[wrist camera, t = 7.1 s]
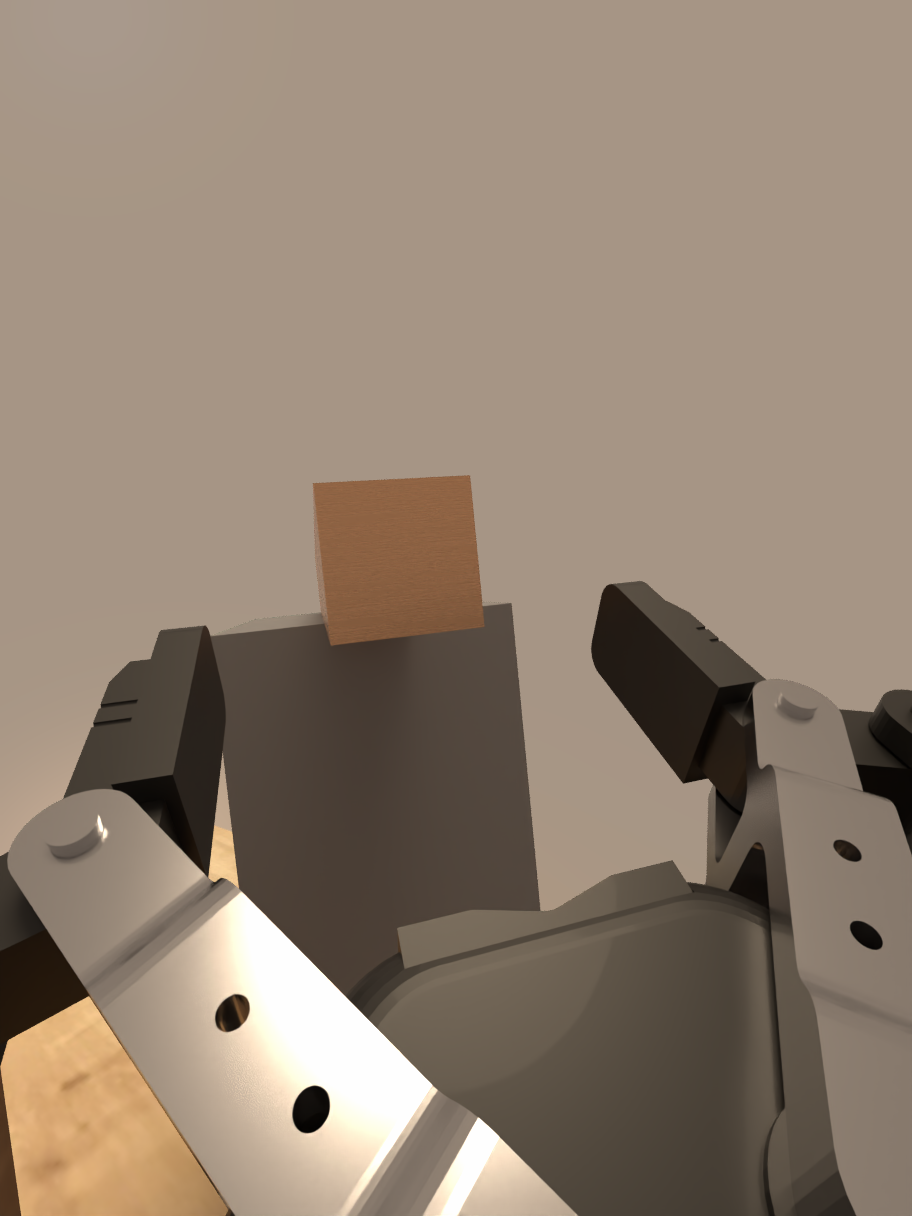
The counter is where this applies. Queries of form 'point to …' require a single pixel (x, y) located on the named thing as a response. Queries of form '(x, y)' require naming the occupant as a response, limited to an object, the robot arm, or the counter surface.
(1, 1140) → the wood grain block
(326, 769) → the stand
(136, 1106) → the counter surface
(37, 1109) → the counter surface
